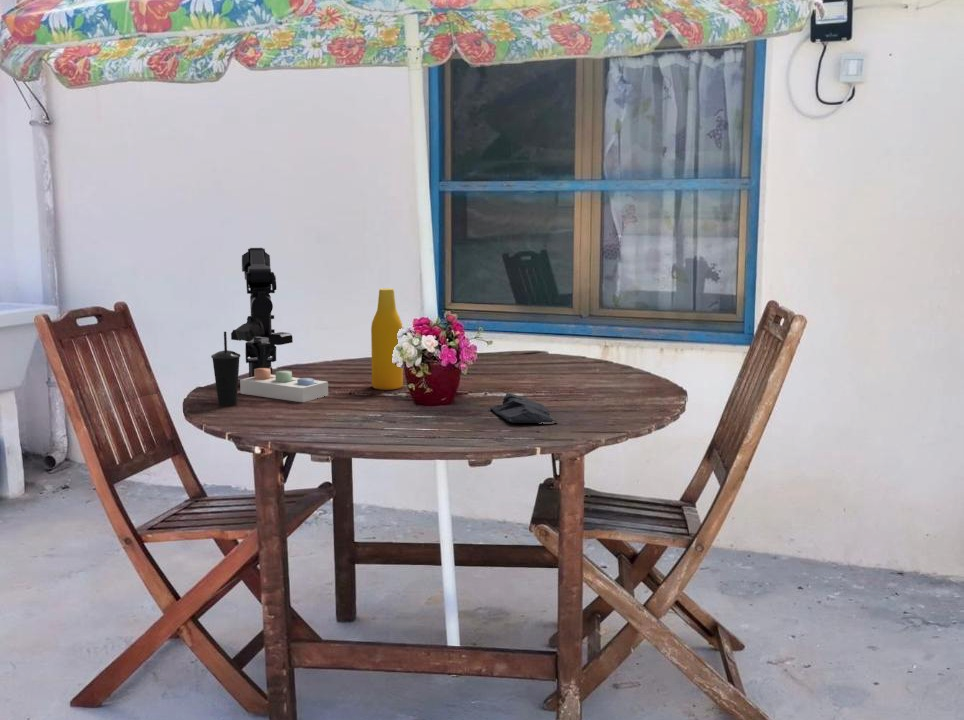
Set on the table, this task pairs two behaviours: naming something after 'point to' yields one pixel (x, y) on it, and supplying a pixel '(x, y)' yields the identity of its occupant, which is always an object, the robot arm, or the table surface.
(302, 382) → the button slate
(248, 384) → the console
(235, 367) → the drinking cup
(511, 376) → the table surface
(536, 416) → the dark slate chunk
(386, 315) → the beer bottle
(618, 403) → the table surface
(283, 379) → the button sage
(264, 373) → the button terracotta
